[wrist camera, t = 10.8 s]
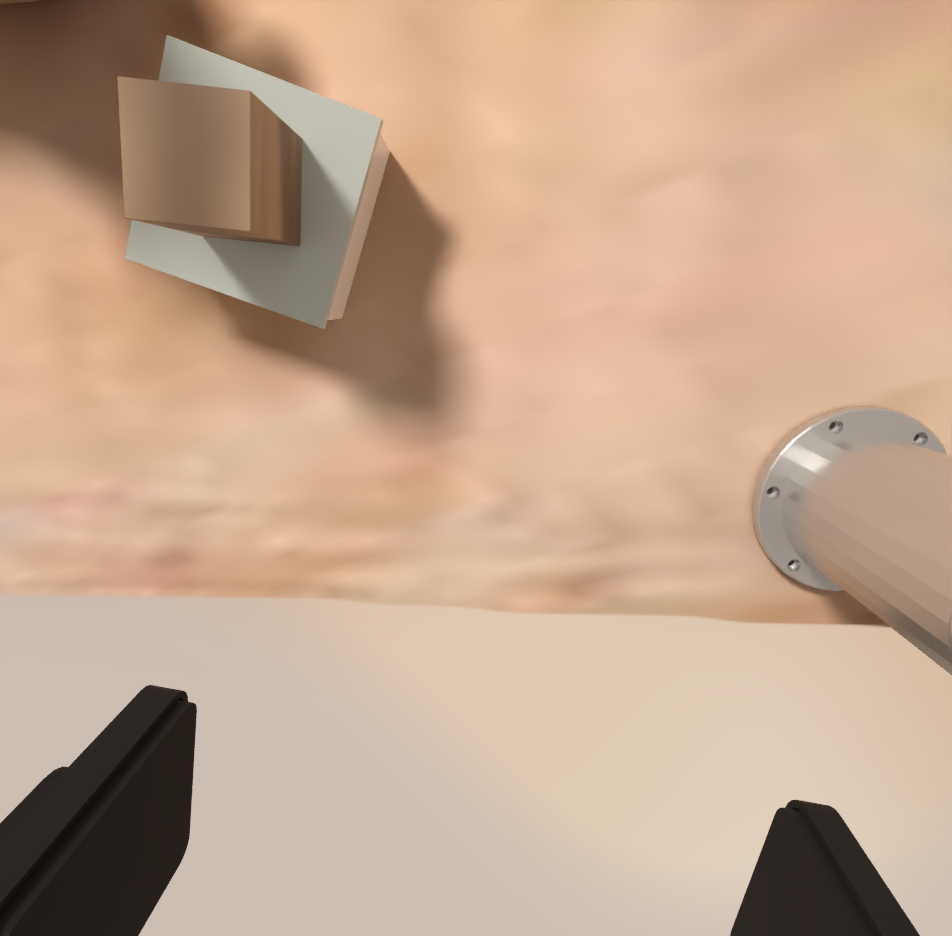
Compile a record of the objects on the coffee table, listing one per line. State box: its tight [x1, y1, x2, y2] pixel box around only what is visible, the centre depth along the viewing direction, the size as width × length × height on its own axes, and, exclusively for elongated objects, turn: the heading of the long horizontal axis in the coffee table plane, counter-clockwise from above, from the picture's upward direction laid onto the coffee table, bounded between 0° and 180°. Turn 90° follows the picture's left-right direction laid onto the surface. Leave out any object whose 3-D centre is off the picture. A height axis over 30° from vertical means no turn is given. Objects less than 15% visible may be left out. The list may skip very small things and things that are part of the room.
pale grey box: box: [125, 35, 390, 329], centre depth 33 cm, size 11×11×6 cm
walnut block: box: [117, 76, 303, 246], centre depth 27 cm, size 5×5×7 cm
